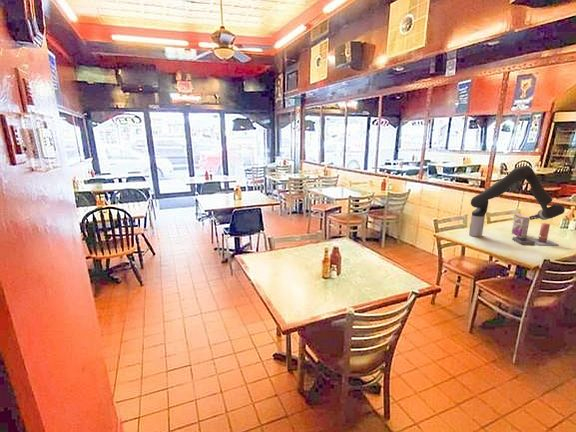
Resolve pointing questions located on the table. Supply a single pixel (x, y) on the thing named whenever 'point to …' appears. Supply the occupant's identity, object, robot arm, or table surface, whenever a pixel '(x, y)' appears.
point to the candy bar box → (520, 225)
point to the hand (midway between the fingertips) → (539, 216)
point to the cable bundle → (544, 232)
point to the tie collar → (518, 239)
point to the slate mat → (544, 243)
